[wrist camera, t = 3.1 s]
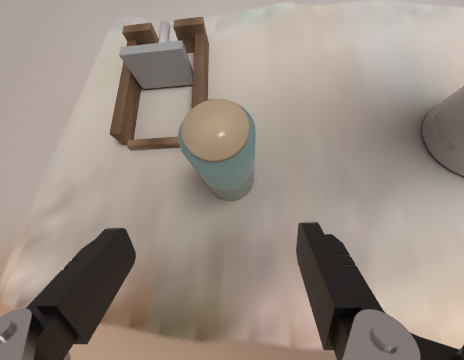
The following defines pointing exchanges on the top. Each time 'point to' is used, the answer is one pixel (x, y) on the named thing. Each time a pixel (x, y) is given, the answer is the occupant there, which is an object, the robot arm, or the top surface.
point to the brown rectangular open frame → (130, 89)
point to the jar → (220, 146)
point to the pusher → (159, 62)
